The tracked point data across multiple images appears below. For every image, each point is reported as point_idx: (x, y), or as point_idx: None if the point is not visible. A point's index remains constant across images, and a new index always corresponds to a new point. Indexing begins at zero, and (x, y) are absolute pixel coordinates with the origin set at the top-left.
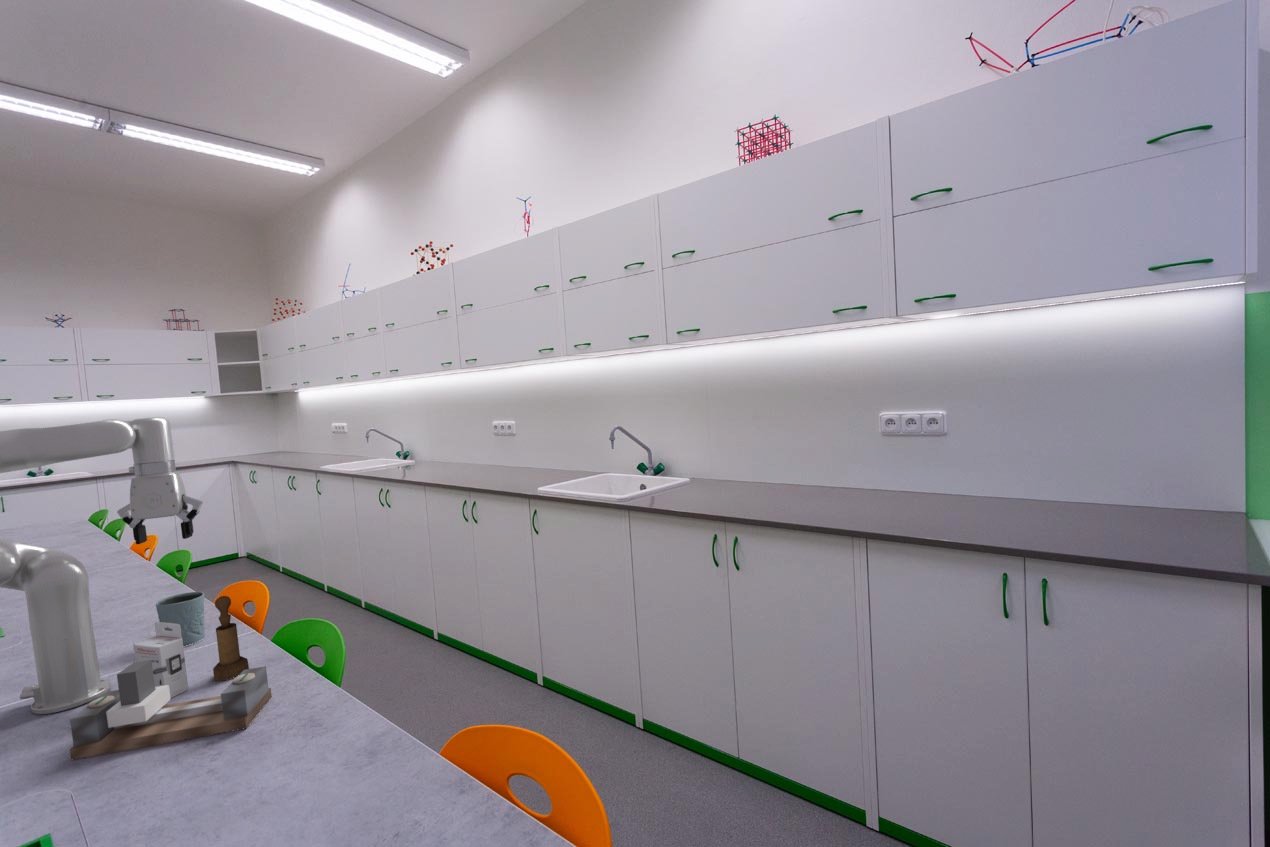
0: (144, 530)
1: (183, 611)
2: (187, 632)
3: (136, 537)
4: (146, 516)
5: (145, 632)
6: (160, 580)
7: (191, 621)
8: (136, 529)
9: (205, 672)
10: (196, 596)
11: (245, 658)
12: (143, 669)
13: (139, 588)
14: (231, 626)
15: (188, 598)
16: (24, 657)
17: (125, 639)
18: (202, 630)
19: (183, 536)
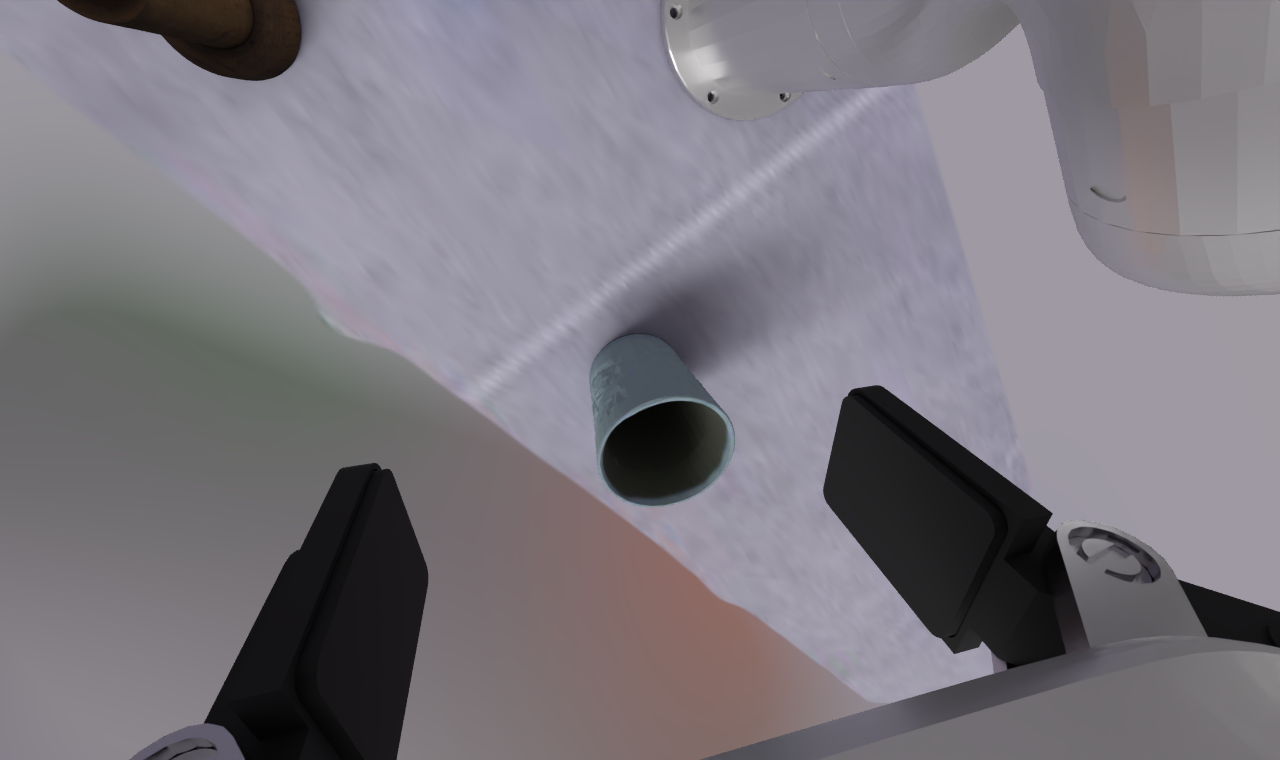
0: (903, 570)
1: (625, 393)
2: (611, 363)
3: (918, 424)
4: (1064, 743)
5: (778, 461)
6: (874, 693)
7: (605, 386)
8: (998, 497)
9: (382, 79)
10: (642, 492)
11: (171, 40)
12: None
13: (896, 664)
14: (96, 2)
15: (666, 487)
16: (978, 381)
17: (806, 430)
18: (592, 397)
19: (359, 480)
